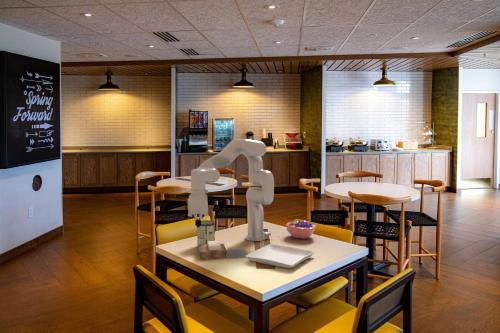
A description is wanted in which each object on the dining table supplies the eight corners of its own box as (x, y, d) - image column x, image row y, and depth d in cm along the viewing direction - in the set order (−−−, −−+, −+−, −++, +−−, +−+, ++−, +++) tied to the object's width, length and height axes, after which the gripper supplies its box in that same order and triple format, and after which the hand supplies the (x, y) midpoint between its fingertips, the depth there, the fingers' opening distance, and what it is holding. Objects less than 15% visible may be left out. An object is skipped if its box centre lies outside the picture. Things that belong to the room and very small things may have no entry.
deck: (223, 250, 237) (223, 243, 237) (226, 258, 224) (226, 250, 223) (198, 251, 235) (198, 244, 234) (199, 259, 221) (199, 252, 221)
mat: (244, 249, 240) (244, 248, 240) (249, 257, 225) (249, 256, 225) (225, 250, 238) (225, 249, 238) (228, 258, 223) (228, 258, 223)
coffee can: (202, 243, 252) (202, 219, 251) (218, 245, 248) (218, 221, 247) (193, 247, 243) (193, 223, 242) (209, 249, 239) (209, 225, 237)
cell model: (301, 232, 278) (301, 215, 276) (321, 239, 261) (322, 221, 259) (280, 235, 269) (280, 218, 268) (299, 243, 252) (299, 224, 251)
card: (218, 245, 234) (218, 240, 234) (220, 249, 225) (220, 245, 225) (207, 245, 233) (207, 241, 233) (209, 250, 224) (209, 245, 224)
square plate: (292, 272, 203) (292, 264, 203) (244, 262, 218) (244, 255, 217) (315, 257, 226) (315, 250, 226) (270, 249, 241) (270, 242, 240)
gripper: (211, 191, 229) (211, 225, 231) (183, 191, 227) (183, 225, 228) (213, 193, 222) (212, 228, 224) (183, 193, 219) (183, 229, 221)
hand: (198, 226), depth 226 cm, fingers closed
